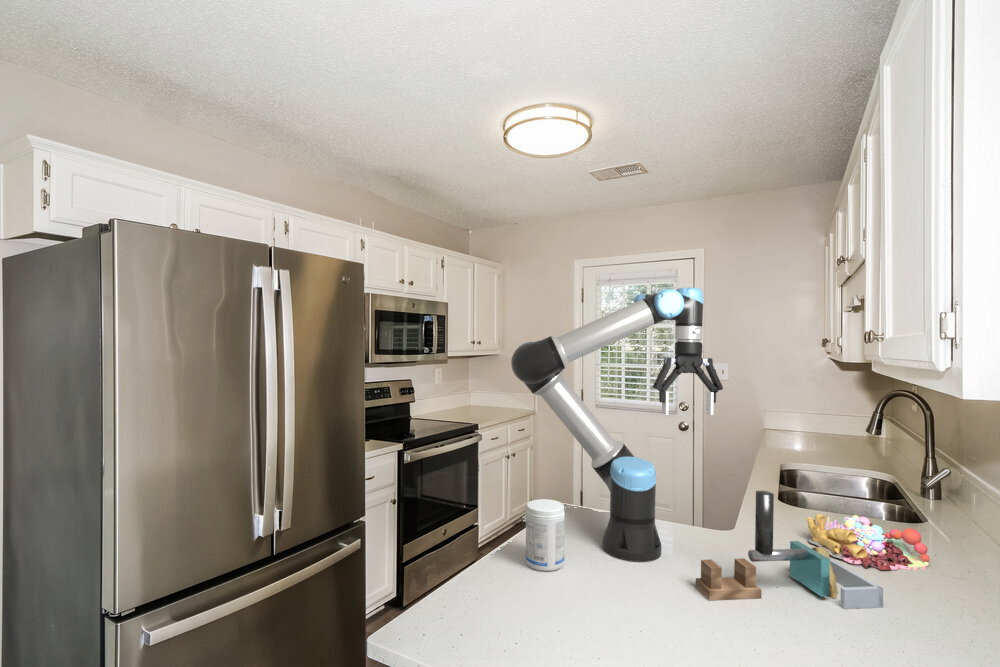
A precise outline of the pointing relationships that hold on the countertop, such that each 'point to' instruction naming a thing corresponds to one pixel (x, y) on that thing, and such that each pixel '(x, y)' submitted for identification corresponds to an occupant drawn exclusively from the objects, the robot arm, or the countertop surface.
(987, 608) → the countertop surface
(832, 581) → the rock
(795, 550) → the lever handle
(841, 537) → the colorful coral reef
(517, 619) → the countertop surface
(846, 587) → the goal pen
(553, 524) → the supplement tub
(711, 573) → the rod stand
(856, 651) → the countertop surface
